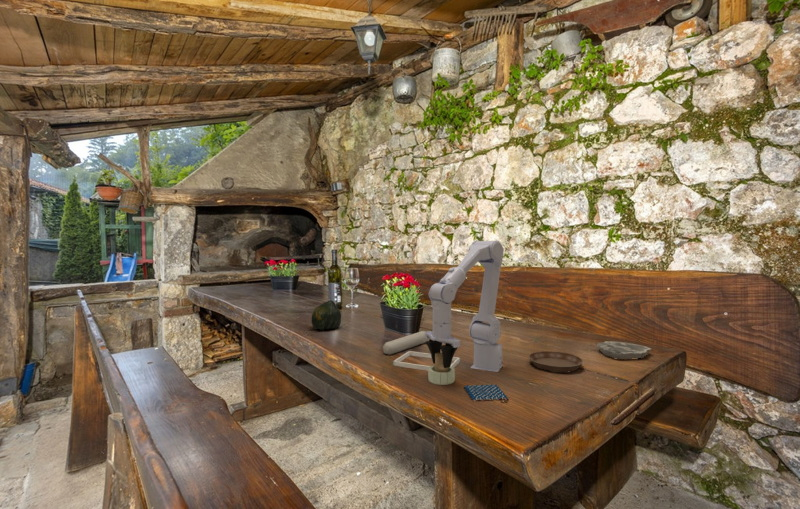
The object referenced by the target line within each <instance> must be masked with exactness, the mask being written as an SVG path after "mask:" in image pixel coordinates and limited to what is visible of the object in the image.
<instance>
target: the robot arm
mask: <svg viewBox="0 0 800 509" xmlns="http://www.w3.org/2000/svg"><path fill="white" fill-rule="evenodd" d="M503 258H504V247H503V244H502V243H501V242H500V241H499V240H476V239H475V240H474V241H473V242H472V243H471V244H470V245H469V246H468V251H467V253H466V254H465V256H464V257H463V259H462V260H461V261H460V263H459V264H458V265H457V266H453V267H450V268H448V271H447V273H446V274H445V275H444V276H443V277H441V279H440V280H439V282H436V283H434V284H432V285H431V287H430V288H429V292H428V297H429V300H430V304H431V307H432V331H431V330H429V331H428V330H427V331H426V332H425V338H429V340H428V341H426V343H425V344H426V346H427V348H428V350H429V352H430V353H429V354H431V357H432V358H431V359H432V360H431V361H432V363H433V364H434V365H435V354H436V353H442V355H443V366H444V368H449V367H450V366H451V364H452V363H453V361H452V358H453V357H455V356H454V355H455V353H456V351H457V349H458V348H460V347H461V340H460V339H457V338H455V337H454V336H452V328H451V327H452V302H453V301H455V299H456V295H457V291H458V289H459V288H460V286H462V284H463V283H464V281H465V280H466V278H467V273H468V272H469V271H470V270H471V269H473V267H474V266H475V265H476V264H477V263H479V264H480V265H481V266H482V267H483V268H484V273H483V280H482V288H481V294H480V299H479V300H480V301H479V309H478V312H477V313H476V314H475V315H474V316H473V317H472V319H471V322H470V324H469V327H468V334H469V337H470V338H471V341H472V342H473V364H472V365H471V366H470V369H474V370H475V369H476V370H482V371H489V372H494V373H495V372H497V373H498V372H500V370H501V369H502V367H503V345H502V344H501V343H498V342H499V340H500V339H501V335H502V333H501V321H500V320H499V319H498V318H497V316H496V315H495V312H496V305H497V297H498V290H499V283H500V276H501V268H502V265H503Z"/></svg>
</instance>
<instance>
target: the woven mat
mask: <svg viewBox="0 0 800 509" xmlns="http://www.w3.org/2000/svg"><path fill="white" fill-rule="evenodd" d="M463 390H465V392H466V394H467V395H468V396H469V399H470V400H471V401H473V402H481V401H482V402H484V401H492V400H493V401H494V402H495V401H500V402H501V403H504V404H505V403H509V402H508V401H510V399H509V397H507V394H505V392H503V390H502V389H501V388H499V386H498V385H497V384H481V385H479V384H476V385H475V384H474V385H473V384H472V385H470V384H469V385H465V386H463Z"/></svg>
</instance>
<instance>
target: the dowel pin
mask: <svg viewBox="0 0 800 509" xmlns="http://www.w3.org/2000/svg"><path fill="white" fill-rule="evenodd" d="M434 365H435V371H436V372H448V368H444V366H443V355H442V352H440V353H436V354H435V364H434Z"/></svg>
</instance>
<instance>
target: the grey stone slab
mask: <svg viewBox="0 0 800 509" xmlns="http://www.w3.org/2000/svg"><path fill="white" fill-rule="evenodd" d="M595 345H596V347H597V348H598V349H599V350H600V352H601V353H602V354H603V355H604V356H605V355H606V356H605V357H608V356H610V357H609V358H611V357H612V359H613V358H617V359H616V360H618V359H632V358H642V359H643V358H645V357H646V355H647V356H648V355H649V354H650V352H651V350H652V348H650V347H648V346H645V345H641V344H636V343H631V342H630V343H629V342H625V341H624V342H621V341H613V340H612V341H606V340H605V341H603V342H596V343H595ZM644 356H645V357H644Z"/></svg>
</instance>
